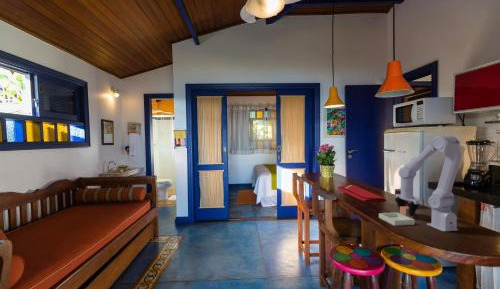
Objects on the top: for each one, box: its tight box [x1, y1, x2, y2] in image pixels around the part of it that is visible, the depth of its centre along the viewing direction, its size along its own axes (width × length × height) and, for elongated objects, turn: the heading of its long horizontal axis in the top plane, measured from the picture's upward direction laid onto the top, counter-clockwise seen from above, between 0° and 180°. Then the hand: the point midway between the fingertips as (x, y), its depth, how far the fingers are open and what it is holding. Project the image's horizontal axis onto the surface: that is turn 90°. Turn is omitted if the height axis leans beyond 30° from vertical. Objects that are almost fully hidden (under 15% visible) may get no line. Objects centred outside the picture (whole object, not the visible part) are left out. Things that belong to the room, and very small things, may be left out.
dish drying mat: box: [337, 184, 387, 203], centre depth 189 cm, size 16×41×4 cm, turn 6°
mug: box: [394, 188, 410, 206], centre depth 156 cm, size 11×8×10 cm
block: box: [399, 205, 414, 219], centre depth 137 cm, size 4×4×5 cm
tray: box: [378, 211, 416, 227], centre depth 130 cm, size 12×11×2 cm
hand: (406, 213), depth 138 cm, fingers open, 7 cm apart
